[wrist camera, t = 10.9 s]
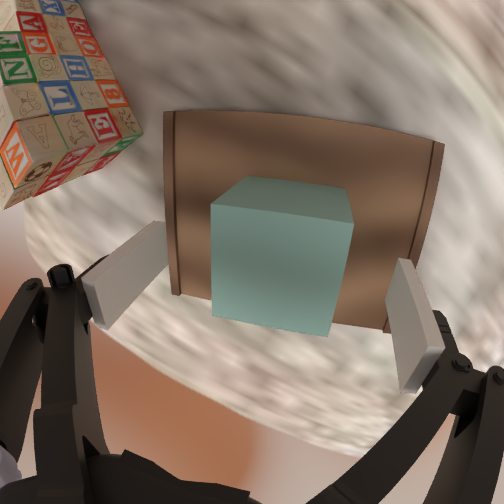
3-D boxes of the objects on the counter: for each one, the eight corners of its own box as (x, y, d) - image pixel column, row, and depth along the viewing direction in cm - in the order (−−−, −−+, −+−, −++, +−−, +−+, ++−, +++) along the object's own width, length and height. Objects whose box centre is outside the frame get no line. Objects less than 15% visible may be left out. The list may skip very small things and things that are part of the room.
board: (175, 111, 21) (163, 111, 20) (435, 141, 17) (444, 144, 16) (180, 283, 28) (171, 294, 27) (388, 320, 25) (391, 333, 23)
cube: (246, 175, 21) (210, 203, 15) (346, 188, 19) (354, 223, 13) (242, 262, 24) (212, 315, 18) (330, 276, 23) (327, 337, 16)
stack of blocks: (41, 27, 19) (-44, 29, 8) (74, -11, 17) (-15, -24, 6) (103, 169, 25) (-1, 214, 15) (146, 134, 23) (29, 164, 12)
